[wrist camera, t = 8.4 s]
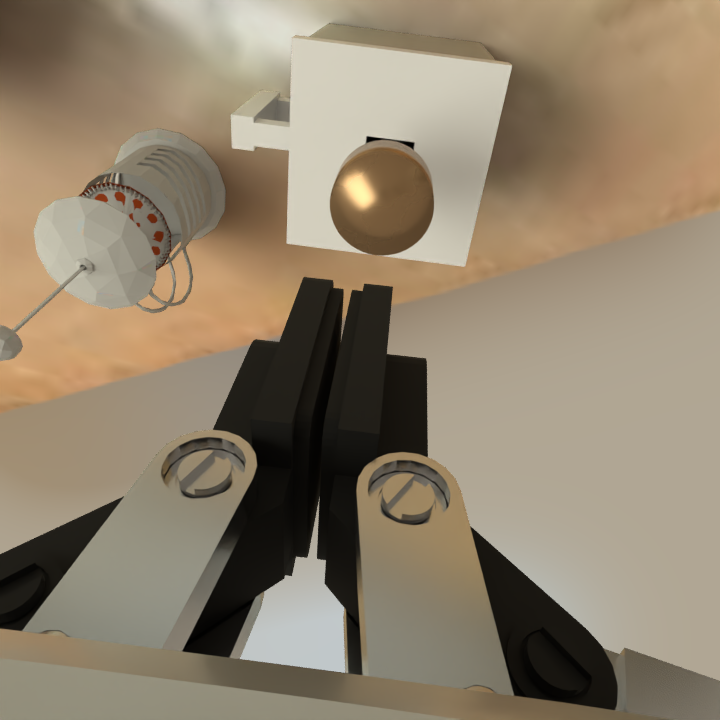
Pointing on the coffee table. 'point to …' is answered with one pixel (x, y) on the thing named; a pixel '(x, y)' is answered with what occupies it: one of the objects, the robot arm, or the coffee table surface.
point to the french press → (128, 225)
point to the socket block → (382, 126)
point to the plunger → (382, 198)
